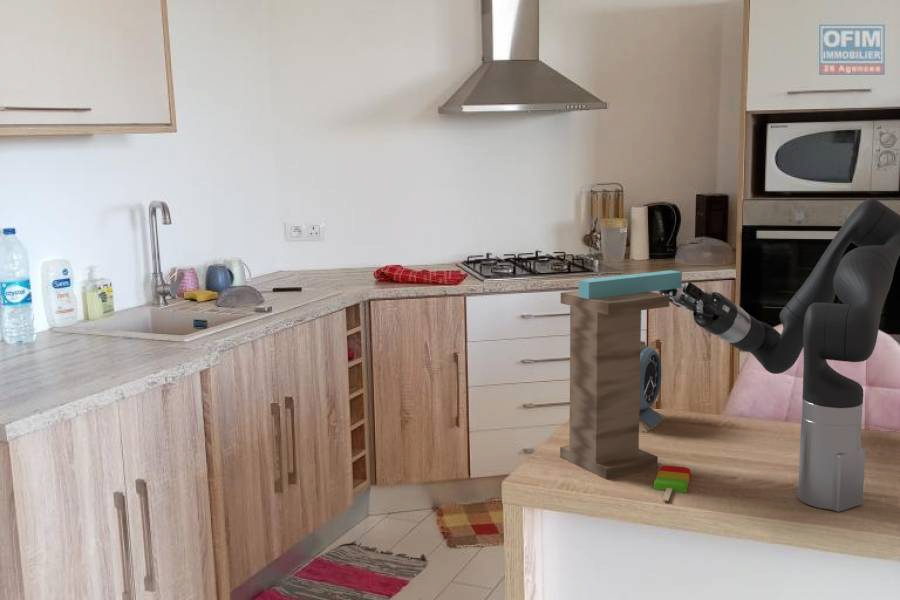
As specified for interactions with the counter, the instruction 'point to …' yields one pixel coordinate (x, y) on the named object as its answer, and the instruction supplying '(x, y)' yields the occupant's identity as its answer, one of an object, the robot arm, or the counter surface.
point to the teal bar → (629, 284)
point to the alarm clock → (649, 387)
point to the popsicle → (672, 480)
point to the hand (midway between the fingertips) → (669, 283)
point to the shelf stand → (607, 382)
